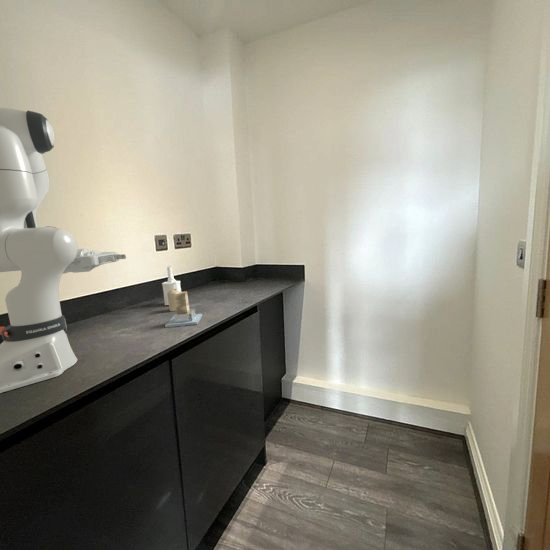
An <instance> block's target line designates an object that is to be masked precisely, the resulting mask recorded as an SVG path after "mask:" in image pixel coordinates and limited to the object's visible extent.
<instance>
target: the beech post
mask: <svg viewBox="0 0 550 550" xmlns="http://www.w3.org/2000/svg"><path fill="white" fill-rule="evenodd" d="M175 301H176V309H177V311H176V314H185V313H190V310H189V309H190V301H189V296H188V291H187V290H185V291H181V292H177V293H175Z"/></svg>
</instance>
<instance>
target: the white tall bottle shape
mask: <svg viewBox="0 0 550 550" xmlns="http://www.w3.org/2000/svg"><path fill="white" fill-rule="evenodd" d="M174 275H175V274H173V268H172V267H171V265H167V276H168V277H167V281H164V282H162V283H161V286H162V290H163V299H164V306H166V305H169V302H168V295H167V293H168V292H169V290H172V289H177V290H178V291H179V292H182V288H181V280H177V279H175V278H174Z"/></svg>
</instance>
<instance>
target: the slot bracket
mask: <svg viewBox="0 0 550 550" xmlns="http://www.w3.org/2000/svg"><path fill="white" fill-rule="evenodd" d="M189 310H190V313H185V314H177V313H176V314H173V316H174V319H175V323H176V322H186V321H192V320H193V319H194V317H195V316H196V314H197V313H196V308H189Z"/></svg>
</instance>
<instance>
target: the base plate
mask: <svg viewBox="0 0 550 550" xmlns="http://www.w3.org/2000/svg"><path fill="white" fill-rule="evenodd" d="M195 314H196V316H195V317H194V319H193V320H192V321H186V322H176V323H175V319H174V315H173V316H172V318H171V317H170V319H169V320H168V321H167V323H166V324H165V326H164V327H165V328H177V327H184V326H186V325H187V326H195V325H196V324H197V325H198V323H199V322H200V320H201V319H202V317H203V314H202V313H195ZM197 325H196V326H197Z"/></svg>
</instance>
